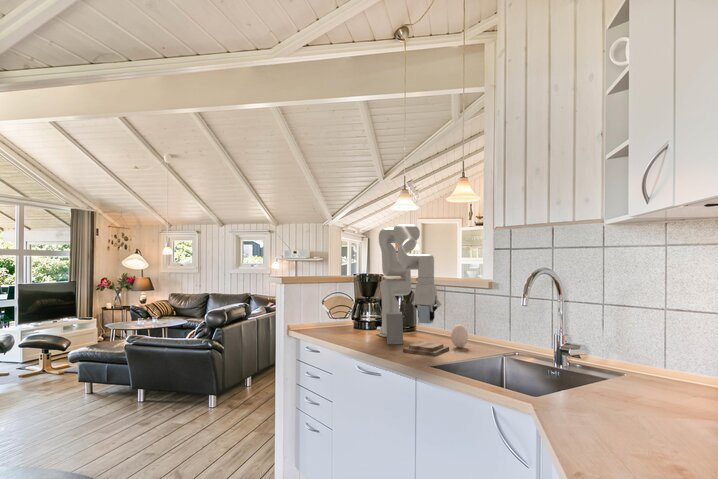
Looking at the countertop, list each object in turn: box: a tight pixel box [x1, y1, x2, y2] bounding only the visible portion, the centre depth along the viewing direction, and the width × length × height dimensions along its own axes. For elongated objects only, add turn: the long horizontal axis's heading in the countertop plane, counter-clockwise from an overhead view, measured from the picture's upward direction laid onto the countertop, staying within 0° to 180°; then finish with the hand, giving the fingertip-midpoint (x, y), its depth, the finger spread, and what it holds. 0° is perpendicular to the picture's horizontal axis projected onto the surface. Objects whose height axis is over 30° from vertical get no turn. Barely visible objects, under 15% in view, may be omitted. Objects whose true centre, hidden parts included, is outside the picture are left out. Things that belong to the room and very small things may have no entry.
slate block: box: [418, 305, 434, 325], centre depth 207 cm, size 5×5×8 cm
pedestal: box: [402, 340, 450, 357], centre depth 206 cm, size 16×16×3 cm
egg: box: [450, 323, 469, 349], centre depth 214 cm, size 8×8×11 cm
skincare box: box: [386, 311, 404, 345], centre depth 224 cm, size 8×7×16 cm
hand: (426, 319), depth 207 cm, fingers closed on slate block, 5 cm apart
